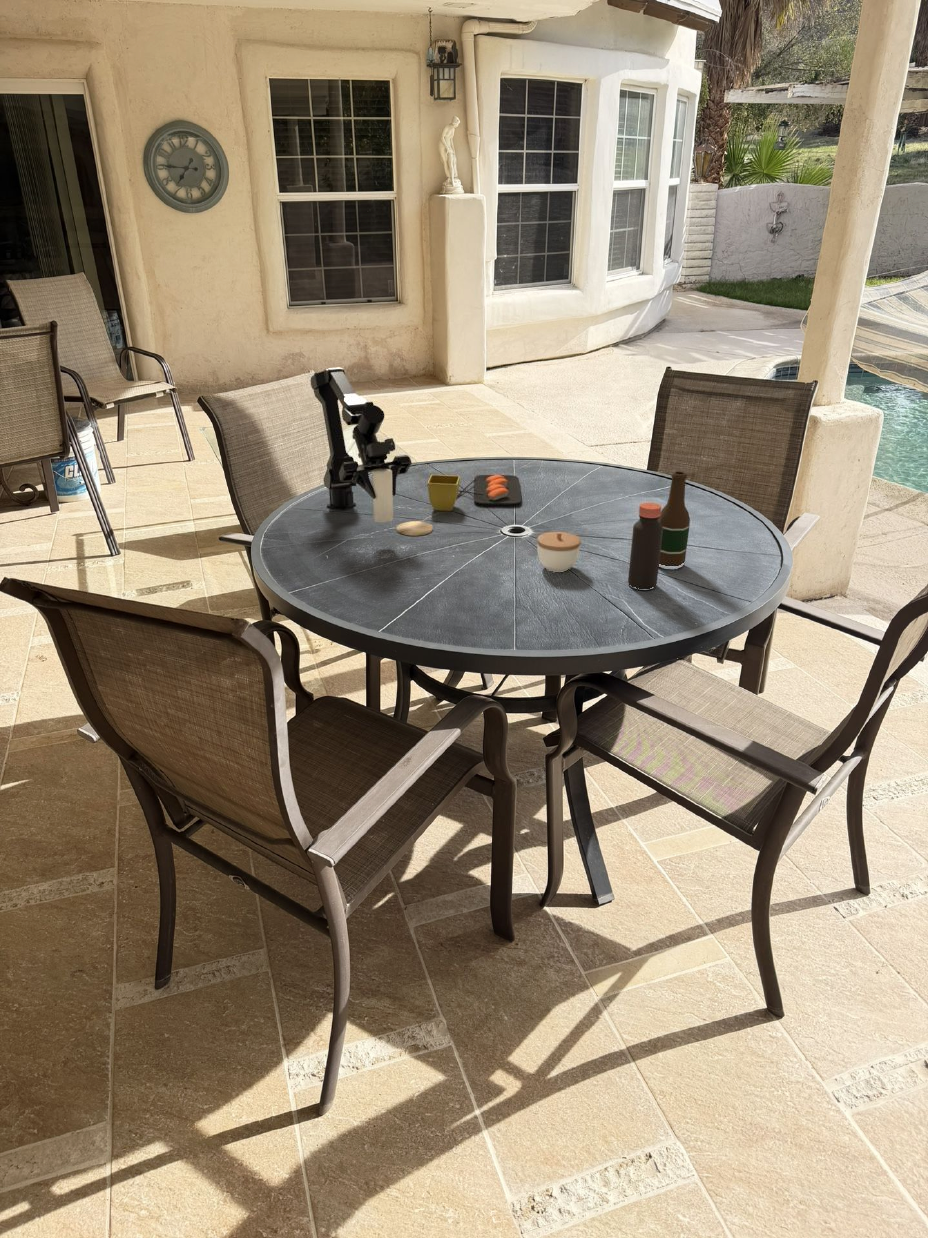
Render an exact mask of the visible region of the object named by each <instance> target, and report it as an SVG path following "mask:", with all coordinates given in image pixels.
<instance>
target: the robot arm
mask: <svg viewBox="0 0 928 1238" xmlns="http://www.w3.org/2000/svg"><path fill="white" fill-rule="evenodd" d="M310 386H311V388H312V390H313V393H314V397H315V398H316V400H317V401H318V402H319V403H320V404H321V407H322V413H323V419H324V424H325V430H326V437H327V442H328V448H329V457H328V460H327V462H326V471H325V474H324V477H323V485H324V487H326V489H328V493H329V503H328V504H326V507H327V508H330V509H335V510H340V511H346V510H348V509H349V507H350V508H352V507H354V506H356V505H357V503H356V502H354V491H353V487H357V485H359V486H360V487H361V488H362V489H363V490H364V491H365V492H367V494H368V495H369V496H370V497H371V498H372V500H373V499H375V498H376V496H375V492H374V489H373V487H372V481H371V480H370V476H369V473H372V470H375V469H390V470H392V489H393V497H395V496H396V494H397V477H398V475H404V474H407V473H408V471H409V469H410V468H411V465H412V464H413V462H412V459H411V457H410V456H409V455H407V454H403V455H396V456H393V459H392V461H387V462H385V461H386V460H387V459H388V455H390V454H391V453H392V452H394V451H395V450H396V444H395V440H394V438H392V437H391V438H390V437H389V438H386V439H385V440H384V441H379V440H378V436H377V433H379V431H380V429H381V427H382V424H383V422H384V420H385V412H384V410H382V408H380V406H378V405H374V402H373V401H368V400H366V398H364V397H362V396H360V395H358V394H357V392H356V390H355V389H354V387H353V386H352V384H351V382H350V380H349V379H348V378H347V376H346V372H345V369H344V368H343V367H329V368H326V369H324V370H323V371H317V372H314V373H313V375H312V376H311V377H310ZM339 402H340V404H341V406H342V409H341V413H340V407H339ZM341 416H342V418H341ZM342 420H343V422H345V424H346V425H347V426H354V427H353V430H352V437H351V438H352V440H354V441H355V445H356V448H357V451H358V454H357V455H358V458H359V459H360V460H361V463H362V464H359V463H358V461H355V460H354V457H353V456H351V455H349V453H348V452H347V448H346V443H345V437H344V430H343V424H342ZM353 505H354V506H353Z"/></svg>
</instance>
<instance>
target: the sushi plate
mask: <svg viewBox="0 0 928 1238" xmlns="http://www.w3.org/2000/svg"><path fill="white" fill-rule="evenodd" d="M471 484H473V491H472V492H471V491H466V490H467V488H469V487H470V486H471ZM426 486H427V487H428V484H427V485H426ZM463 493H464V494H465V493H466V494H473V502H474V503H476V504H480V505H518V504H520V503H521V502H522V495H521V494H522V493H521V486H520V478H519V477H518V475H512V474H478V475H475V477H474V478H473V479H472V481H471V482H470V483H469V484H467V486H466V487H464V489H462V490H461V489H459V490H458V495H457V498H456V500H457V499H458V498H459V497H460V496H461V495H462V494H463Z"/></svg>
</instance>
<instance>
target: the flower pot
mask: <svg viewBox="0 0 928 1238" xmlns="http://www.w3.org/2000/svg"><path fill="white" fill-rule="evenodd" d="M460 480H461V476H460V475H449V474H448V475H443V474H430V477H429V478H428V481H427V485H428V486H427V490H428V499H429V500H428V501H429V502H430V504H431V507H432V509H433V510H435V511H445V512H451V511H452V510H453V509H454V506H455V504H456V501H457V499H458V498H457V495H458V494H459V492H458V490H460V482H461V481H460ZM456 498H457V499H456Z"/></svg>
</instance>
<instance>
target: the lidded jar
mask: <svg viewBox="0 0 928 1238" xmlns="http://www.w3.org/2000/svg"><path fill="white" fill-rule="evenodd" d="M536 543H537V549H536V550H537V556H538V560H539V562H540V564H541V565H542V566H543V567H544V568H546V569H548V570H550V571H553V572H552V573H555V572H561V571H565V570H568V569H569V570H570V569H571V568H572V567H574V566H575V564H576V563H577V562H578V558H579V556H580V551H581V550H580V549H581V545H582V544H581V543H582V540H581V538H580V537H579V536H578V535H575V534H572V533H569V532H563V531H549V532H546V533H542V534H540V535H539V536H538V537H537V540H536ZM546 569H545V570H546ZM548 570H547V571H548ZM569 570H568V571H569ZM550 571H549V572H550Z"/></svg>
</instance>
